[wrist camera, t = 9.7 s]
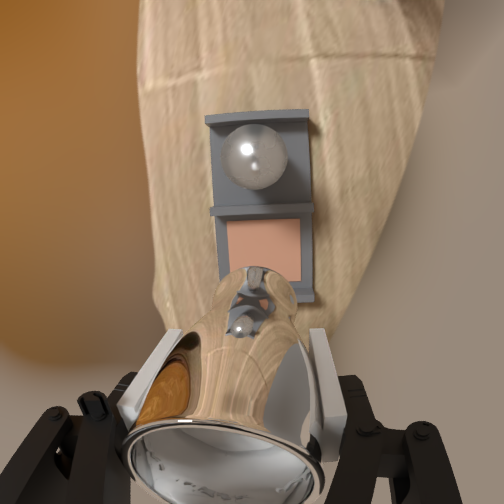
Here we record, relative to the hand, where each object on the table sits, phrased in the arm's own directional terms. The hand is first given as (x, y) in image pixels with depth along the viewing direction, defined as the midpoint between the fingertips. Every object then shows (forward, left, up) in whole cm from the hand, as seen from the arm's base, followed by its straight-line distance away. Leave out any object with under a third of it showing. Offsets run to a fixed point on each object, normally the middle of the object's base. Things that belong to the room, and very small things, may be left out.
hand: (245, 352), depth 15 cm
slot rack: (-4, +4, -24) cm, 25 cm away
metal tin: (-8, +7, -23) cm, 26 cm away
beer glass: (0, 0, -7) cm, 7 cm away
